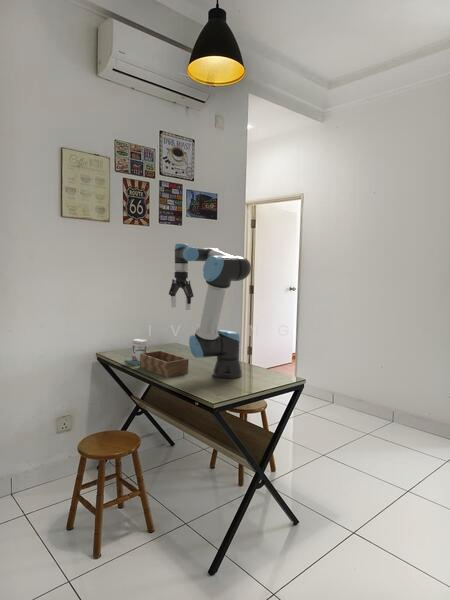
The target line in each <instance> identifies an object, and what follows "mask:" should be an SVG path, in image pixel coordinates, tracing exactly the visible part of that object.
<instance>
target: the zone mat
mask: <svg viewBox="0 0 450 600" xmlns="http://www.w3.org/2000/svg"><path fill="white" fill-rule="evenodd" d="M124 362H125V363H127V364H131V365H133V366H140V361H136V360H132V357H131V358H127V359H124Z"/></svg>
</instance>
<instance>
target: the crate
mask: <svg viewBox="0 0 450 600" xmlns="http://www.w3.org/2000/svg"><path fill="white" fill-rule="evenodd" d="M139 367H140V368H141V369H145V370H147V371H149V372H152V373H155V374H157V375H159V376H162V377H165V378H170V377H175V376H180V375H184V374H185V375H186V374H189V358H186V357H184V356H180V355H177V354H173V353H171V352H167V351H164V350H156V351H148V353H142V354H140V365H139Z"/></svg>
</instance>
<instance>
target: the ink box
mask: <svg viewBox="0 0 450 600" xmlns="http://www.w3.org/2000/svg"><path fill="white" fill-rule="evenodd" d="M148 352H149V340H148V339H143V338H134V339H132V340H131V356H132V357H131V358H132V360H136V361H140V354H142V353H148Z"/></svg>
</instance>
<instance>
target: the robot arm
mask: <svg viewBox="0 0 450 600" xmlns="http://www.w3.org/2000/svg"><path fill="white" fill-rule="evenodd" d="M189 262H204V264H203V268H202V272H203V273H202V276H203V279H204V280H205V283H206V285H207V289H206V290H207V291H206V295H205V299H204V305H203V309H202V314H201V318H200V324H199V326H198V327H197V328H196V330H195V334H192V335H190V336H189V340H188V344H189V349H190V352H191V354H192V356H193V357H194V358H195V359H204V358H210V357H211V358H213V357H216V360H215V365H214V367H213V369H212V376H213V377H216V378H220V379H235V378H240V377H242V376H243V371H242V370H243V369H242V368H241V367H242V366H241V363H240V341H241V340H240V334H239V333H238V332H236V331H232V330H225V329H218V326H219V321H220V318H221V313H222V308H223V304H224V299H225V294H226V291H227V289H228V288H230V287H231V283H232V282H239V281H240V282H241V281H243V280H245V279H246V278H248V277H249V275H250V273H251V270H252V265H251V263H250V261H249V260H248V259H247V258H246V257H243V256H241V255H240V256H239V255H236V256H234V255H231V254H229V253H225V252H223V251H221V250H220V249H219V248H216V247H198V246H197V247H193V246H189V245H188V243H176V244H175V245H174V273H173V274H174V275H173V276H174V278H173V279H172V280H171V286H170V288H169V292H168V295H169V296H170V302H171V305H170V306H171V308H172V309H173V308H176V307H177V295H176V294H177V293H178V291H179V289H180V288H181V289H183V292H184V294H185V297H186V298H185V311H188V310H191V302H192V298H194V292H193V288H192V285H191V280H190V279H188V277H189V276H188V275H189V272H188V270H189V269H188V268H189ZM187 279H188V280H187Z"/></svg>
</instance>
